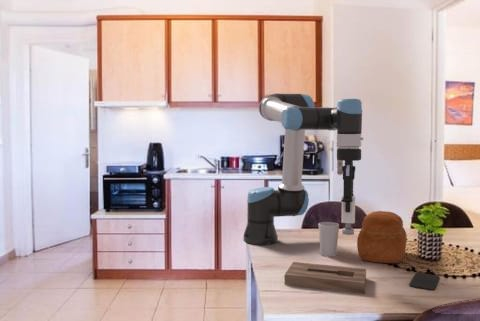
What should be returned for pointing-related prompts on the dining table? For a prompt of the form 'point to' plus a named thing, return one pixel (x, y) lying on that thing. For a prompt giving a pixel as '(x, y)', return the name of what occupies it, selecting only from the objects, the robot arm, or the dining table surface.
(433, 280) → the phone
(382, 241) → the bread
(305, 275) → the keyhole board
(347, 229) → the keyhole peg
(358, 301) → the dining table surface
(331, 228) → the cup
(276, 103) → the robot arm
